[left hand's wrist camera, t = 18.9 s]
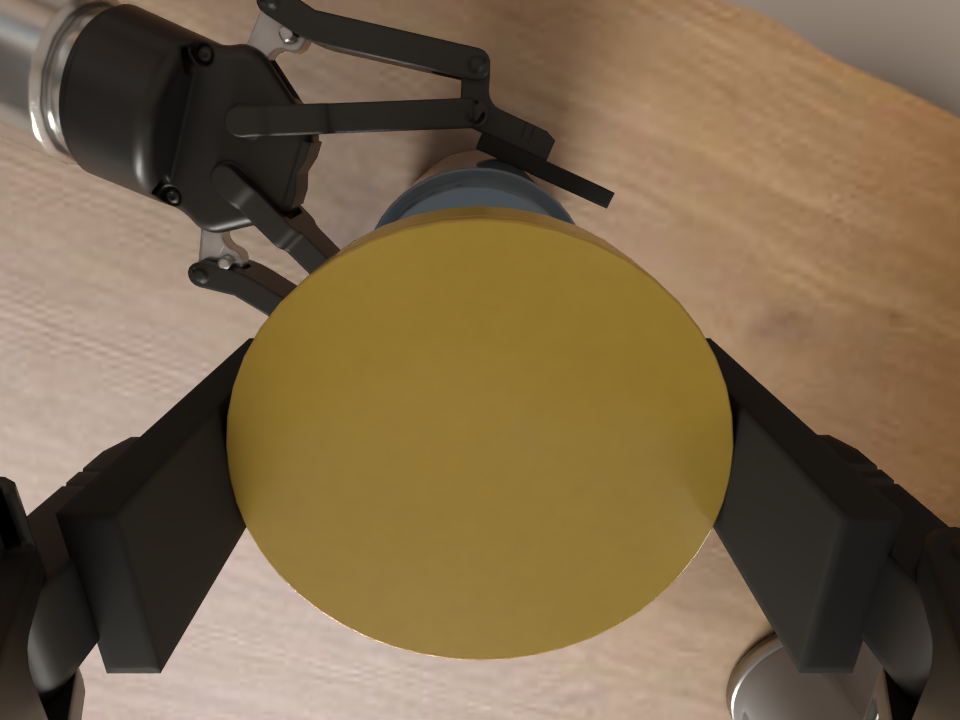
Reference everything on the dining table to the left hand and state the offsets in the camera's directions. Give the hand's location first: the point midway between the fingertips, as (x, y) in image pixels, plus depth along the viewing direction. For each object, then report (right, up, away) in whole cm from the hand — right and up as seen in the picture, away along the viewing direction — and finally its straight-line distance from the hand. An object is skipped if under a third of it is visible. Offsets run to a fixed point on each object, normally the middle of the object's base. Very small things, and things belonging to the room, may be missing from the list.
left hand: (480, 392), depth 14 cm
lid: (0, -1, -3) cm, 3 cm away
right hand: (+4, +5, +16) cm, 17 cm away
